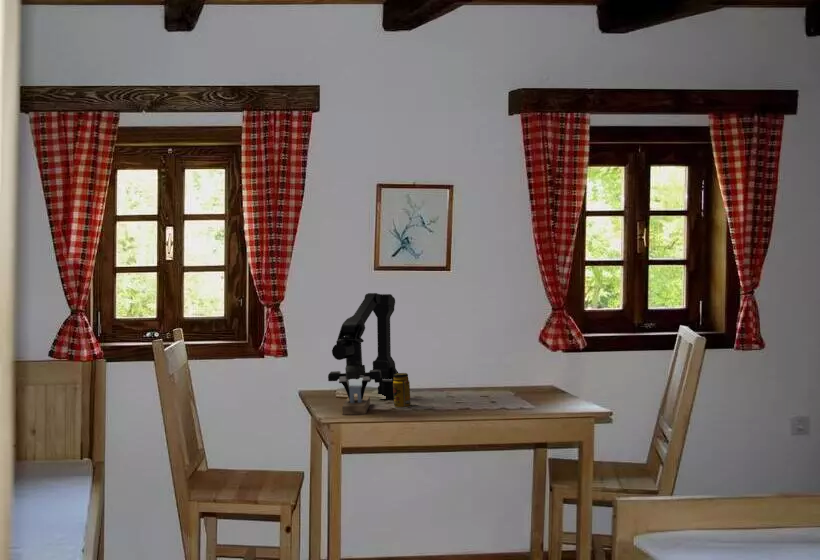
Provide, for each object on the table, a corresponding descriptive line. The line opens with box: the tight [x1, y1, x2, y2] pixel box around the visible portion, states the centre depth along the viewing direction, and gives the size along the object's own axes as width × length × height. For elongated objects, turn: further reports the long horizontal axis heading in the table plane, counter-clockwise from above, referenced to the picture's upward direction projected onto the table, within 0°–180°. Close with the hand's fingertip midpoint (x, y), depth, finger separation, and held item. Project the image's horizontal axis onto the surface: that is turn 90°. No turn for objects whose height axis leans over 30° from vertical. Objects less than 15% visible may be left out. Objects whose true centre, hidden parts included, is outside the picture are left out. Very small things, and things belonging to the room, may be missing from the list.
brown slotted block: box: [341, 395, 371, 415], centre depth 378 cm, size 8×20×3 cm, turn 177°
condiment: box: [390, 372, 419, 409], centre depth 380 cm, size 7×8×12 cm
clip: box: [349, 385, 362, 403], centre depth 377 cm, size 4×4×7 cm
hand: (356, 399), depth 377 cm, fingers closed on clip, 4 cm apart
